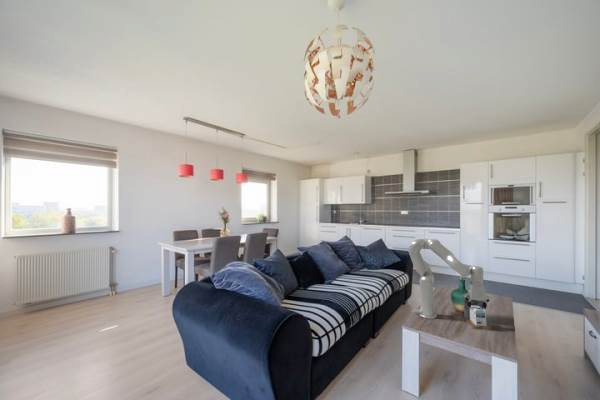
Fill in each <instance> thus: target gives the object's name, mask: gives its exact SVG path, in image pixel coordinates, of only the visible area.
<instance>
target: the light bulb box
mask: <svg viewBox="0 0 600 400" xmlns="http://www.w3.org/2000/svg"><path fill="white" fill-rule="evenodd" d="M469 308H470V307H469ZM470 320H471V321H472V322H473V323H474V324H475V325H476V326H487V324H486V323H487V311H486V309H484V308H483V309H482V308H481V307H480V306H474V305H471V308H470Z"/></svg>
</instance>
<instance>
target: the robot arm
mask: <svg viewBox="0 0 600 400" xmlns="http://www.w3.org/2000/svg"><path fill="white" fill-rule="evenodd" d="M422 250H430V251H432V252H433V253H434V254H435V255H436V256H438V257H439V258H440V259H441V260H442V261H444V263H446V264H447V265H448V266H449V267H450V268H452V270H453V271H454V272H456V274H458V275H459V276H461V277H465V278H466V277H469V276H470V280H469V281H468V284H469V286H468V290H467V291H468V292H466V293H463V298H464V297H465V299H466V300H467V305H468V306H469V307H470V308H471V302H470V301H471V300H478V301H483V309H484V310H487V307H488V303H489V302H490V300H491V296H489V295H487V291H486V287H485V286H484V268H483V267H482V266H477V265H470V264H466V263H465V264H463V263H462V262H461V261H460V260H459V259H458V258H456V256H455V254H454V253H453V252H452V251H451V250H449V249H448V248H447V247H446V246H444V245H443V243H441V241H439V240H438V239H436V238H418V239H415V240H413V241H412V242H411V243H410V245H409V246H408V254H409V257H410V259H411V262H412V265H413V267H414V270H415V271H416V273H418V274H419V275H420V279H419V292H420V293H419V294H420V295H419V298H420V299H419V301H420V308H419V309H417V308H415V309H414V310H413V311H414V312H415V313H418V316H420V317H421V318H425V319H429V320H430V319H433V320H434V319H436V318H437V314H436V313H435V301H434V300H435V299H434V298H435V296H434V294H435V293H434V283H435V276H434V274H433V272H432V270H431V267H430V265H429V263H428V262H427V261H426V260H424V258H423V256H422V253H421V251H422ZM466 296H468V297H469V298H467V297H466Z"/></svg>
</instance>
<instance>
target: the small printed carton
mask: <svg viewBox="0 0 600 400" xmlns="http://www.w3.org/2000/svg"><path fill="white" fill-rule="evenodd" d="M466 297H467V298H469V297H468V296H466ZM470 302H471V305H474V306H480V307H481V308H482V309H484V308H483V302H484V301H478V300H471V301H470ZM463 313H464V314H463V315H464V318H463V319H464V322H466V324H468V326H470V328H471V329H472V330H473V329H474V330H484V331H493V327H492V326H491V325H490V324H489V323H488V322H486V324H487V326H476V325H475V324H474V323H473V322H472V321H471V320H470V308H469V306H468V305H467V300H466V299H465V297H464V296H463Z"/></svg>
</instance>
